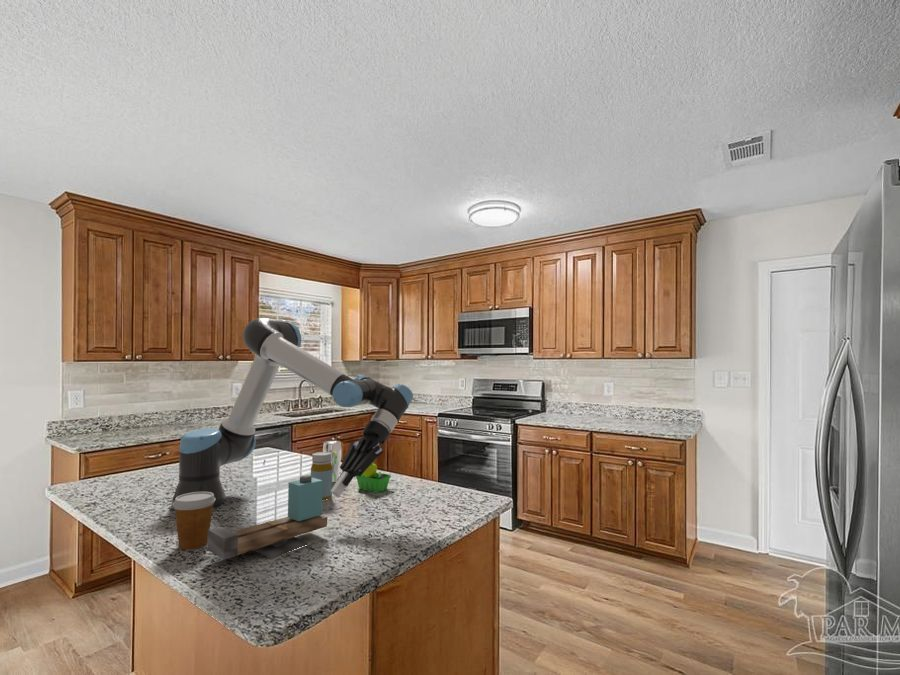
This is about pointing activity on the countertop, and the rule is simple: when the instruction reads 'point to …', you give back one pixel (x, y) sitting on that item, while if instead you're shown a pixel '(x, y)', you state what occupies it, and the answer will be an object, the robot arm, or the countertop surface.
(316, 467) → the bottle
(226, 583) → the countertop surface
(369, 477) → the fruit basket
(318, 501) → the block
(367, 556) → the countertop surface
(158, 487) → the countertop surface
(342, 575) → the countertop surface
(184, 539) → the disposable coffee cup
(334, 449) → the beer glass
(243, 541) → the balance beam
